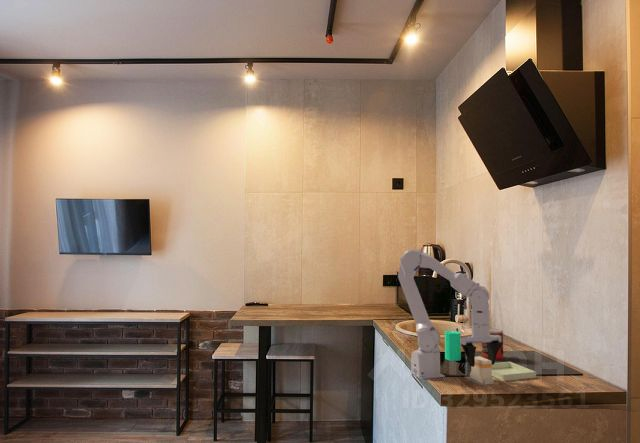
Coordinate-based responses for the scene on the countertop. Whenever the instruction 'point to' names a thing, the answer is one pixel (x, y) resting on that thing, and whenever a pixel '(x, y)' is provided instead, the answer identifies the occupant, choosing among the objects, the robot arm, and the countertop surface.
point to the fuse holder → (486, 381)
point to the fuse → (481, 369)
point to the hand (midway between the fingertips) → (481, 364)
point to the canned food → (500, 333)
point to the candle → (452, 345)
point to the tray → (511, 371)
